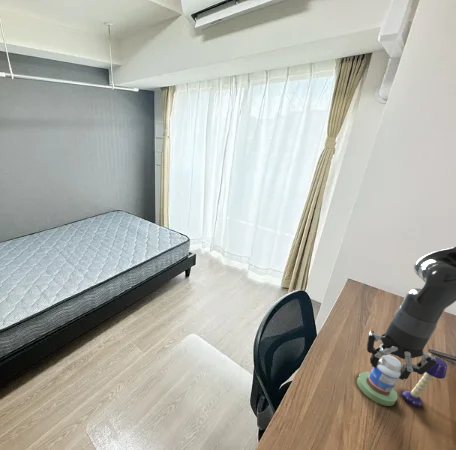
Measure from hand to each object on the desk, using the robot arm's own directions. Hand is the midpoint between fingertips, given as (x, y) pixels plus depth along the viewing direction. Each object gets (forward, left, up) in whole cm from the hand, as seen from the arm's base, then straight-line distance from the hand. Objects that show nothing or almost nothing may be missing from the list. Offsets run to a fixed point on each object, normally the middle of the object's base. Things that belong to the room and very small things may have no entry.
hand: (386, 370), depth 71 cm
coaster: (0, 0, -9) cm, 9 cm away
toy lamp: (-8, -3, -9) cm, 13 cm away
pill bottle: (0, 0, -6) cm, 6 cm away
